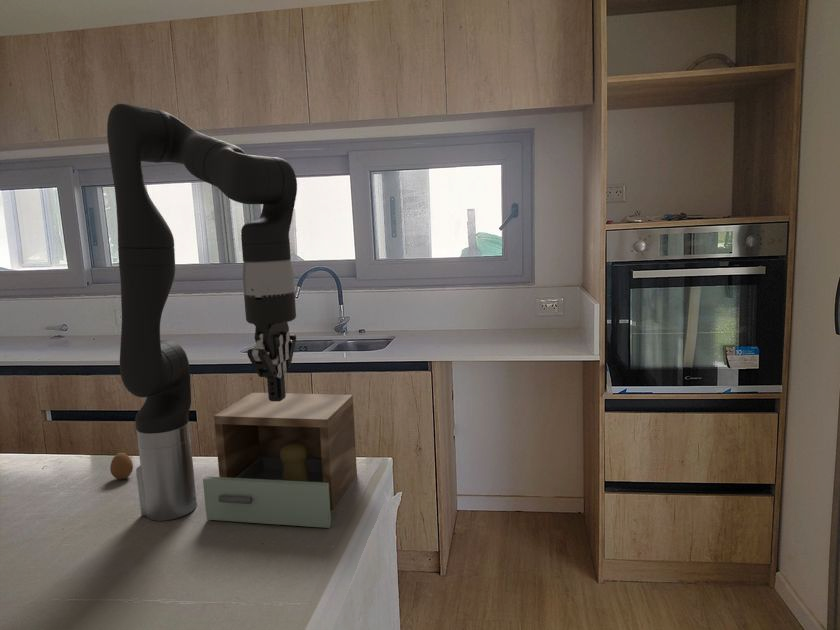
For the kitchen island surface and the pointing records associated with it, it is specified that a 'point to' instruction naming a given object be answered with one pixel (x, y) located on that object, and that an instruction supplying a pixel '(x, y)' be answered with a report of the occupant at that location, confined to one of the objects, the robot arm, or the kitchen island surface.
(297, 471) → the olive tall rounded piece
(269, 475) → the drawer
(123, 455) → the egg
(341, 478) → the cabinet
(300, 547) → the kitchen island surface
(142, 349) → the robot arm
